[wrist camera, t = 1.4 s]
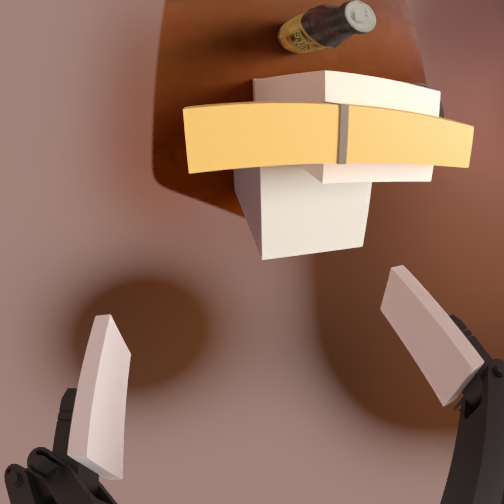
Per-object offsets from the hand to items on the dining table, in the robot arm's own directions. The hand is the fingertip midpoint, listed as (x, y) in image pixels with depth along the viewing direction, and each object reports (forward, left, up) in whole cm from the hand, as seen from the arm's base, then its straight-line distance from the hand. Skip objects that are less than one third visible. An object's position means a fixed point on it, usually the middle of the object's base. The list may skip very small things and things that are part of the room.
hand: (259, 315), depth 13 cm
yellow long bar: (-11, -1, -11) cm, 16 cm away
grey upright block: (-7, +7, -38) cm, 39 cm away
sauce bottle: (-22, -9, -38) cm, 45 cm away
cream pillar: (-15, +1, -38) cm, 41 cm away
